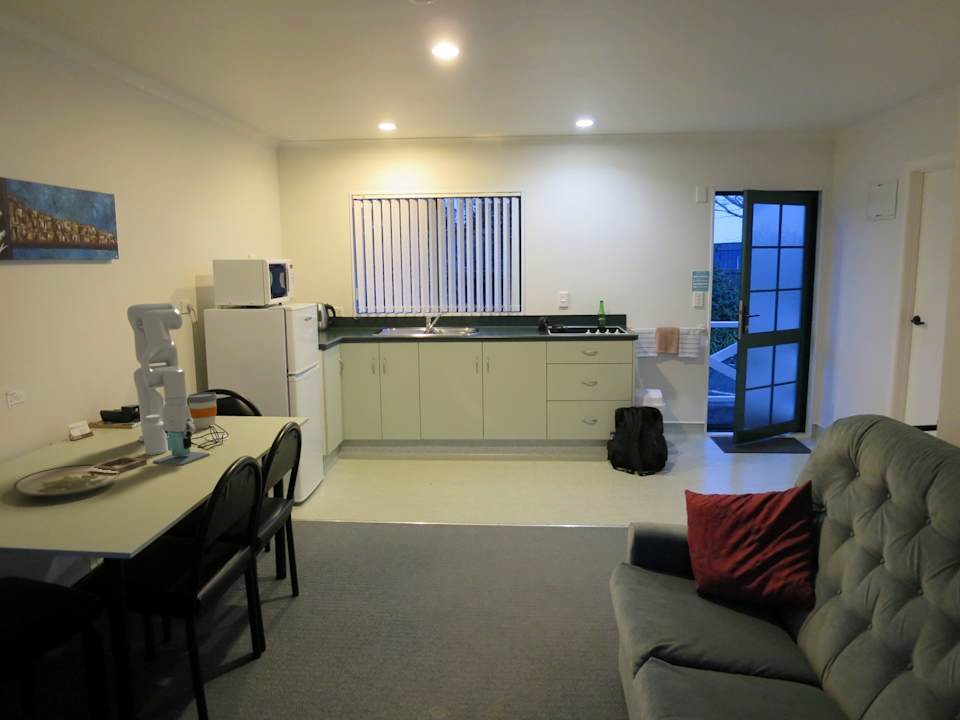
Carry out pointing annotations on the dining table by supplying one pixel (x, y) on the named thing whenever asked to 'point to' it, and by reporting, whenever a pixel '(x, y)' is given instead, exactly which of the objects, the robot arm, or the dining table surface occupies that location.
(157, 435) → the pill bottle
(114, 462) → the brown square tray
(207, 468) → the dining table surface
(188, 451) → the turquoise mug
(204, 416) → the reusable coffee cup
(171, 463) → the plate
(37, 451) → the dining table surface
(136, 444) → the dining table surface
